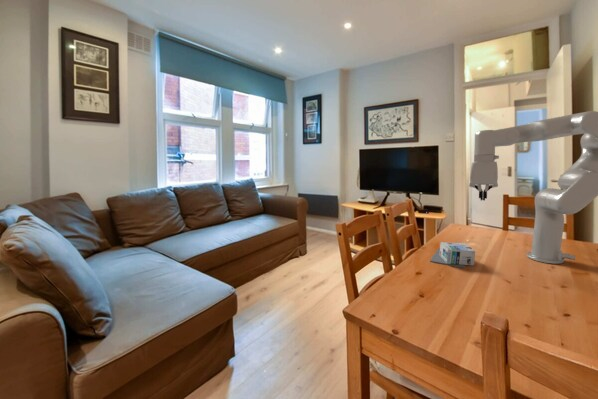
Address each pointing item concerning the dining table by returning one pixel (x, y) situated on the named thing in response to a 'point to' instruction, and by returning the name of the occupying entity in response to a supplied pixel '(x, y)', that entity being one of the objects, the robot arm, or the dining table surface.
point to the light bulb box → (457, 253)
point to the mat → (438, 259)
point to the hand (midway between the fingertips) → (482, 199)
